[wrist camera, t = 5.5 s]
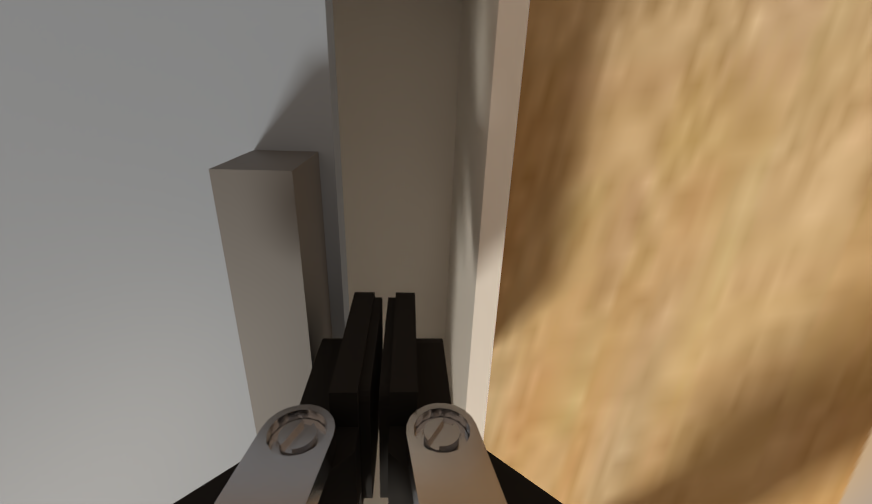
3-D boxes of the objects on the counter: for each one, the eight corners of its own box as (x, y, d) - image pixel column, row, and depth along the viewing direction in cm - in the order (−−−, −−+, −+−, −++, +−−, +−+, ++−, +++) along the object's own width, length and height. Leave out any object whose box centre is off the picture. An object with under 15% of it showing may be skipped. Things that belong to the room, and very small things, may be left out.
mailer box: (479, -20, 18) (541, -113, 9) (454, 381, 26) (474, 519, 18) (146, -39, 17) (-113, -160, 8) (231, 384, 25) (143, 531, 17)
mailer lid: (324, -142, 9) (275, -270, 6) (361, 528, 17) (350, 629, 14) (-423, -198, 8) (-1001, -394, 5) (5, 542, 16) (-94, 654, 13)
